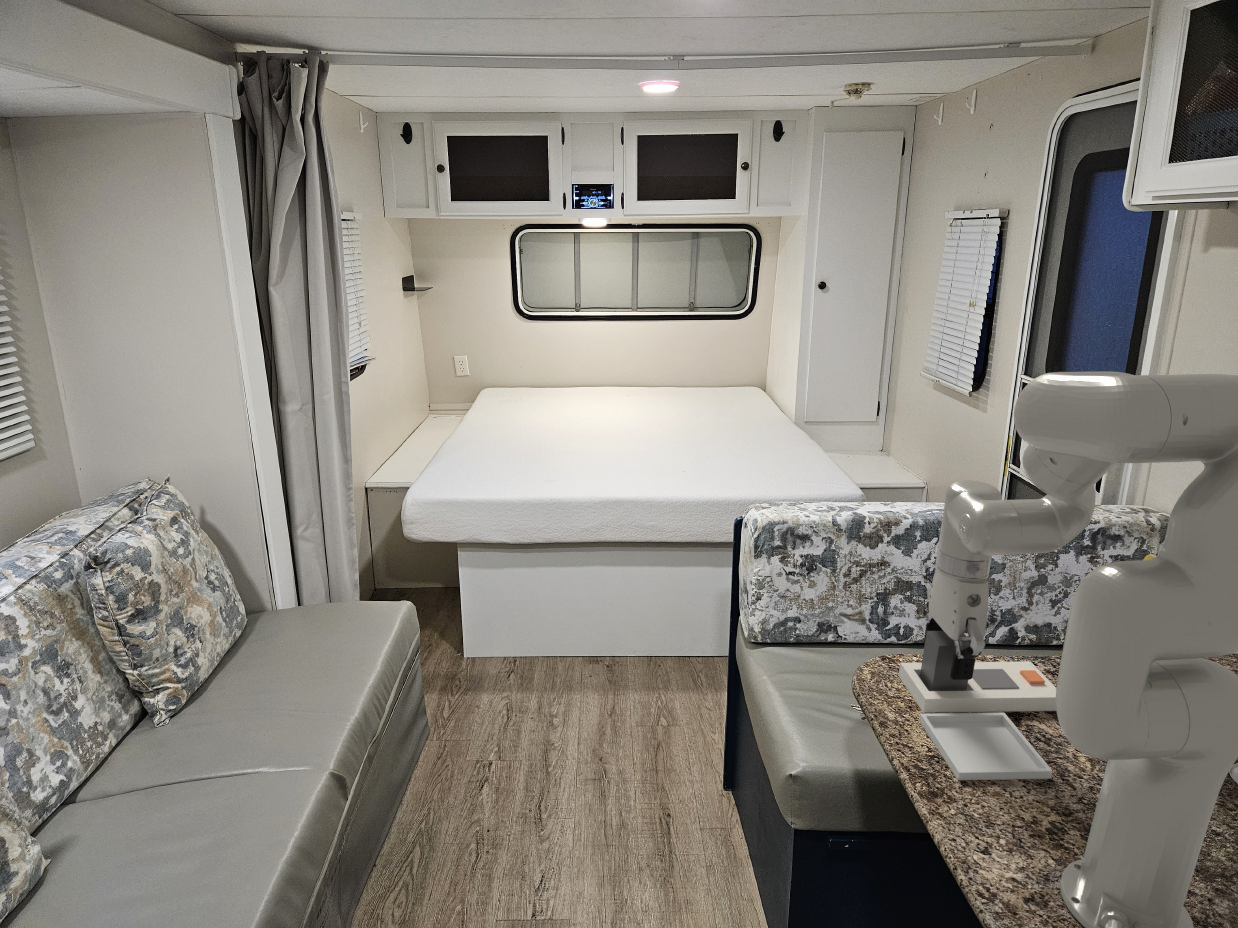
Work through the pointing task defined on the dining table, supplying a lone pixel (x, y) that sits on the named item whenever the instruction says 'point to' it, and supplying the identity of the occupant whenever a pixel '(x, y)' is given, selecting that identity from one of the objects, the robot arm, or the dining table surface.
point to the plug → (940, 663)
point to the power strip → (986, 689)
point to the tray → (984, 746)
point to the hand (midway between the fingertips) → (946, 660)
